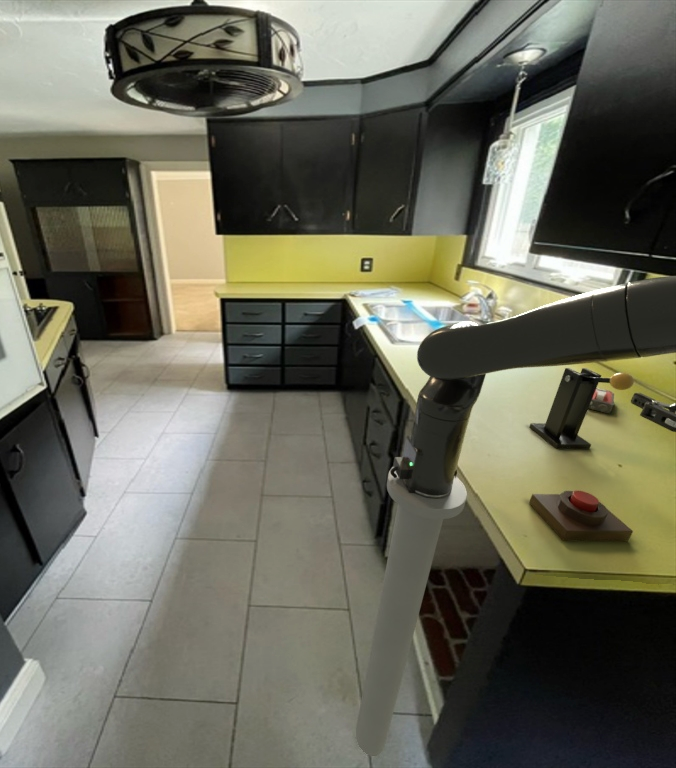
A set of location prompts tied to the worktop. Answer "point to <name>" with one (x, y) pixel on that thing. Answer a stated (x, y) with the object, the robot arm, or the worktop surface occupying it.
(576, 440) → the bracket
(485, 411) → the worktop surface
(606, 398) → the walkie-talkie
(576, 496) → the release button
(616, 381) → the latch lever
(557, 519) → the button base
